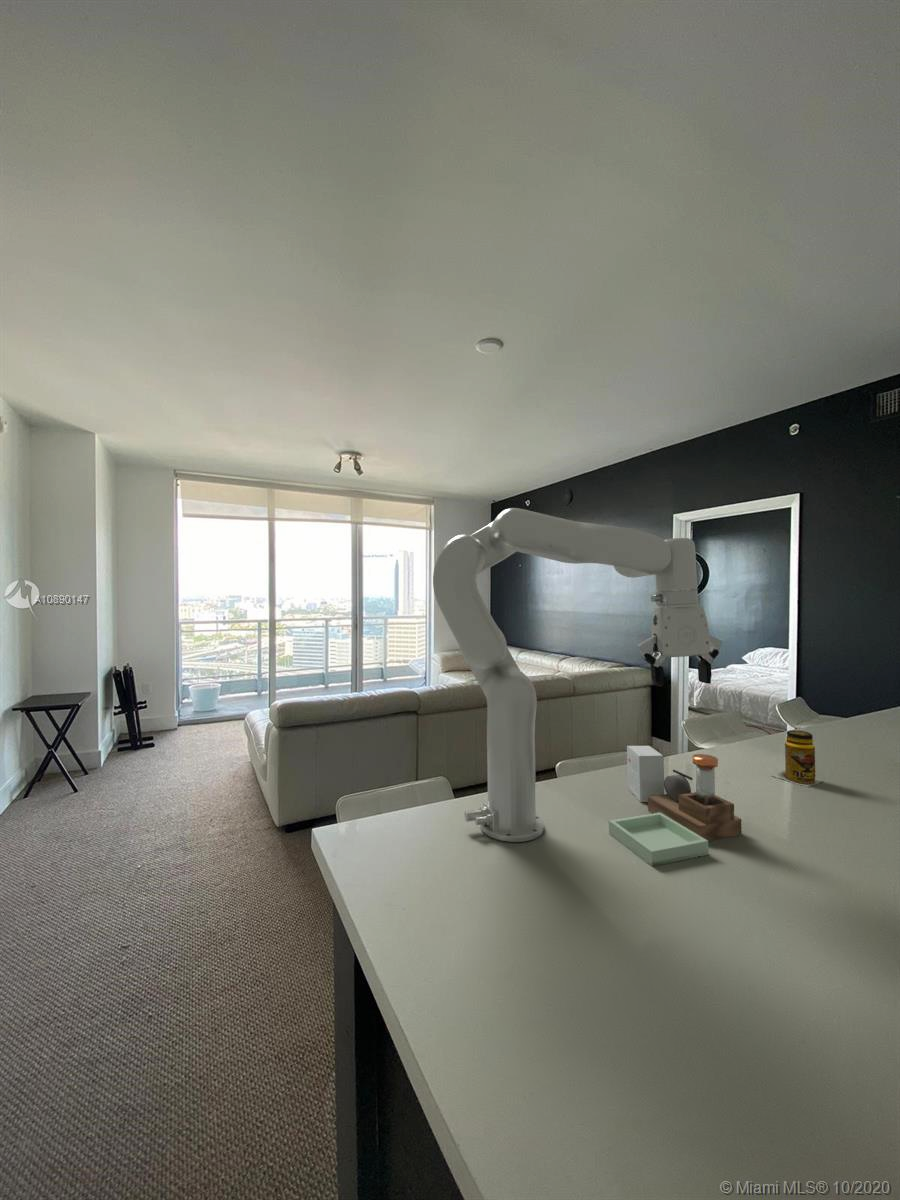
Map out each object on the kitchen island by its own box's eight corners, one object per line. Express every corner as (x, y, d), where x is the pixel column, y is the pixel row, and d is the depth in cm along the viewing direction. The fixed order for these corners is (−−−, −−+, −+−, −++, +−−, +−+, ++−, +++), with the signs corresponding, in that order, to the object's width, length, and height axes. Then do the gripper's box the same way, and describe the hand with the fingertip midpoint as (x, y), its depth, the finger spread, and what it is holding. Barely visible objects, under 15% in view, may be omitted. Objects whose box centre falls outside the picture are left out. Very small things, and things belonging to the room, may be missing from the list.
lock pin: (705, 821, 90) (705, 762, 90) (688, 811, 94) (687, 755, 94) (724, 817, 91) (723, 760, 91) (705, 808, 95) (705, 753, 95)
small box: (665, 802, 105) (664, 755, 105) (639, 802, 105) (639, 755, 106) (650, 788, 113) (650, 745, 113) (627, 788, 113) (626, 745, 114)
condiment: (808, 787, 113) (807, 737, 113) (770, 776, 121) (769, 729, 121) (823, 781, 117) (822, 733, 117) (786, 771, 124) (785, 725, 124)
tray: (651, 866, 80) (651, 851, 80) (609, 833, 92) (608, 820, 92) (708, 855, 83) (708, 840, 83) (660, 824, 95) (660, 812, 95)
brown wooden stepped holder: (699, 842, 88) (699, 797, 88) (648, 810, 101) (647, 772, 101) (741, 834, 91) (740, 791, 91) (686, 804, 104) (685, 767, 104)
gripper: (644, 601, 91) (649, 690, 91) (730, 597, 92) (735, 684, 92) (627, 602, 99) (632, 683, 98) (706, 597, 100) (711, 678, 100)
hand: (681, 684), depth 95 cm, fingers open, 9 cm apart
